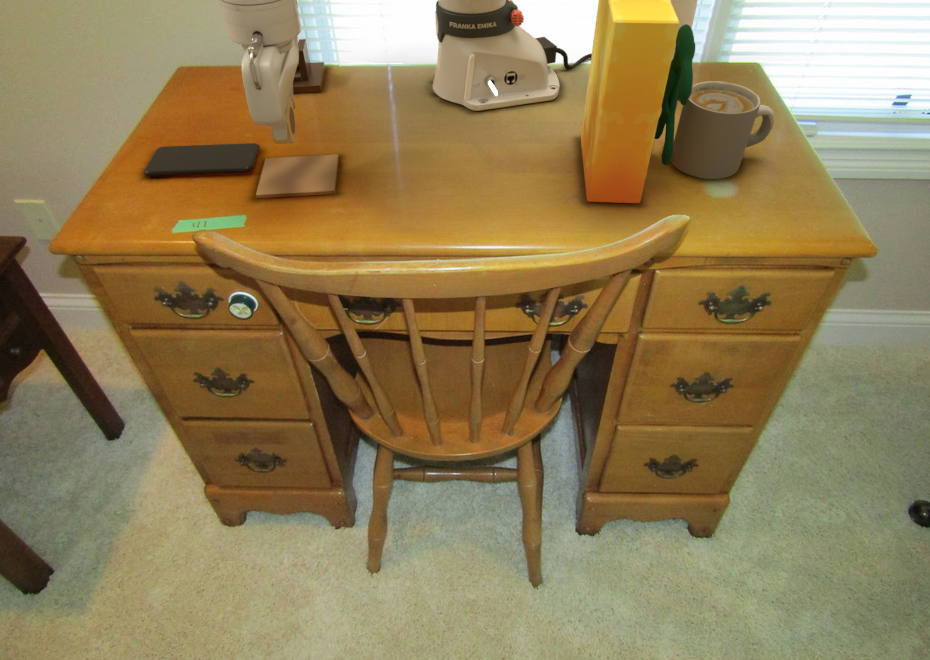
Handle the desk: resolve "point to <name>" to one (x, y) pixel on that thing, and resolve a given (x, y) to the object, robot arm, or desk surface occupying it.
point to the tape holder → (307, 72)
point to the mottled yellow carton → (632, 94)
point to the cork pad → (298, 176)
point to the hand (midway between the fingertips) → (285, 124)
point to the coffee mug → (718, 129)
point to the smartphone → (202, 159)
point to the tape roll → (289, 124)
